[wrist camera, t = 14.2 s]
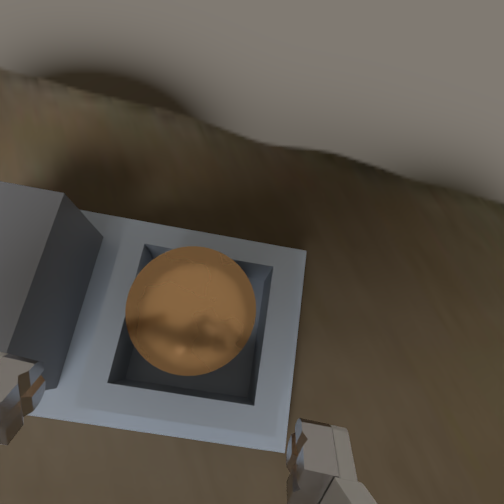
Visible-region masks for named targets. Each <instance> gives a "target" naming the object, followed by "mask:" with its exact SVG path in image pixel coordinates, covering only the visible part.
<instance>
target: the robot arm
mask: <svg viewBox="0 0 504 504" xmlns="http://www.w3.org/2000/svg"><path fill="white" fill-rule="evenodd" d="M43 371H44V364H43V362H40V361H36V360H32V359H28V358H24V357H20V356H16V355H12V354H8V353H4V352H0V444H3V445H8V444H9V443H10V441H11V440H12V439H13V438H14V436H15V435H16V434H17V432H18V431H19V430H20V428H21V427H22V426H23V417H24V416H26V415H28V414H29V413H31V412H33V411H34V410H35V408H36V407H37V406H38V404H39V403H40V401H41V399H42V397H43V394H44V391H45V379H44V378H43V377H42V376H41V373H42V372H43ZM286 466H287V468H288V470H289V472H290V475H289V477H288V479H287V504H377V503H376V501H375V500H374V498H373V497H372V496H371V494H370V493H369V491H368V490H367V489H366V487H365V486H364V484H363V483H361V482H358V480H357V475H356V470H355V465H354V460H353V454H352V449H351V444H350V439H349V434H348V431H347V429H346V428H343V427H338V426H334V425H329V424H326V423H321V422H317V421H312V420H307V419H302V418H299V419H298V420H297V422H296V425H295V433H293V434H291V437H290V439H289V443H288V448H287V457H286Z"/></svg>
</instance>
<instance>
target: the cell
mask: <svg viewBox="0 0 504 504" xmlns="http://www.w3.org/2000/svg"><path fill="white" fill-rule="evenodd" d="M125 318H126V326H127V330H128V333H129V336H130V339H131V341H132V343H133V345H134V346H135V348H136V349H137V351H138V352H139V353H140V355H141V356H142V357H143V358H144V359H145V360H146V361H148V362H149V363H150V364H152V365H153V366H155V367H157V368H158V369H160V370H162V371H165V372H168V373H171V374H175V375H182V376H196V375H201V374H206V373H209V372H212V371H215V370H217V369H219V368H221V367H223V366H224V365H226V364H227V363H229V362H230V361H231V360H232V359H233V358H234V357H236V356H237V355H238V353H239V352H240V351H241V350H242V349H243V347H244V346H245V344H246V343H247V341H248V339H249V337H250V335H251V333H252V330H253V327H254V323H255V318H256V300H255V294H254V291H253V288H252V285H251V283H250V281H249V279H248V277H247V275H246V274H245V272H244V271H243V270H242V269H241V267H240V266H239V265H238V264H237V263H236V262H235V261H234V260H232V259H231V258H229V257H228V256H227V255H225V254H223V253H221V252H219V251H216V250H213V249H210V248H206V247H199V246H187V247H180V248H176V249H172V250H170V251H167V252H165V253H163V254H161V255H159V256H157V257H156V258H154V259H153V260H152V261H150V262H149V263H148V264H147V265H146V266H145V267H144V268H143V269H142V270H141V271H140V273H139V274H138V275H137V277H136V278H135V280H134V282H133V284H132V286H131V288H130V290H129V293H128V296H127V301H126V309H125Z"/></svg>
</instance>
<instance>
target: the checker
mask: <svg viewBox="0 0 504 504" xmlns="http://www.w3.org/2000/svg"><path fill="white" fill-rule="evenodd" d="M187 246H199V247H206V248H210V249H213V250H216V251H219V252H221V253H223V254H225V255H227V256H228V257H229V258H231V259H232V260H234V261H235V262H236V263H237V264H238V265H239V266H240V267H241V269H242V270H243V271H244V272H245V274H246V275H247V277H248V279H249V281H250V283H251V285H252V288H253V291H254V294H255V300H256V318H255V323H254V327H253V330H252V333H251V335H250V337H249V339H248V341H247V343H246V344H245V346H244V347H243V349H242V350H241V351H240V352H239V353H238V355H237V356H236V357H234V358H233V359H232V360H231V361H230V362H229V363H227V364H226V365H224V366H223V367H221V368H219V369H217V370H215V371H212V372H209V373H206V374H201V375H196V376H182V375H175V374H171V373H168V372H165V371H162V370H160V369H158V368H157V367H155V366H153V365H152V364H150V363H149V362H148V361H146V360H145V359H144V358H143V357H142V356H141V355H140V353H139V352H138V351H137V349H136V348H135V346H134V345H133V343H132V341H131V339H130V336H129V333H128V330H127V326H126V318H125V309H126V301H127V296H128V293H129V290H130V288H131V286H132V284H133V282H134V280H135V278H136V277H137V275H138V274H139V273H140V271H141V270H142V269H143V268H144V267H145V266H146V265H147V264H148V263H149V262H150V261H152V260H153V259H154V258H156V257H157V256H159V255H161V254H163V253H165V252H167V251H170V250H172V249H176V248H180V247H187ZM306 252H307V251H305V250H299V249H294V248H288V247H283V246H277V245H272V244H266V243H261V242H255V241H249V240H244V239H238V238H233V237H227V236H222V235H216V234H211V233H205V232H200V231H194V230H189V229H183V228H178V227H172V226H167V225H161V224H156V223H150V222H145V221H139V220H133V219H128V218H122V217H117V216H111V215H106V214H100V213H95V212H89V211H84V210H79V209H78V208H77V207H76V206H75V205H74V203H73V202H72V201H71V200H70V199H69V198H68V197H67V196H66V195H65V193H61V192H56V191H50V190H45V189H39V188H34V187H28V186H23V185H17V184H12V183H7V182H1V181H0V352H4V353H8V354H12V355H16V356H20V357H24V358H28V359H32V360H36V361H40V362H43V364H44V371H43V372H42V373H41V376H42V377H43V378H44V379H45V391H44V394H43V397H42V399H41V401H40V403H39V404H38V406H37V407H36V408H35V410H34V411H33V412H31V413H29V414H28V415H31V416H38V417H45V418H52V419H58V420H65V421H72V422H79V423H85V424H92V425H99V426H106V427H112V428H119V429H126V430H133V431H139V432H146V433H153V434H160V435H166V436H173V437H180V438H187V439H193V440H200V441H207V442H214V443H220V444H227V445H234V446H241V447H247V448H254V449H261V450H268V451H274V452H281V453H285V445H286V436H287V427H288V418H289V409H290V399H291V390H292V381H293V372H294V363H295V353H296V344H297V335H298V326H299V317H300V307H301V298H302V289H303V280H304V271H305V261H306Z"/></svg>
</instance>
